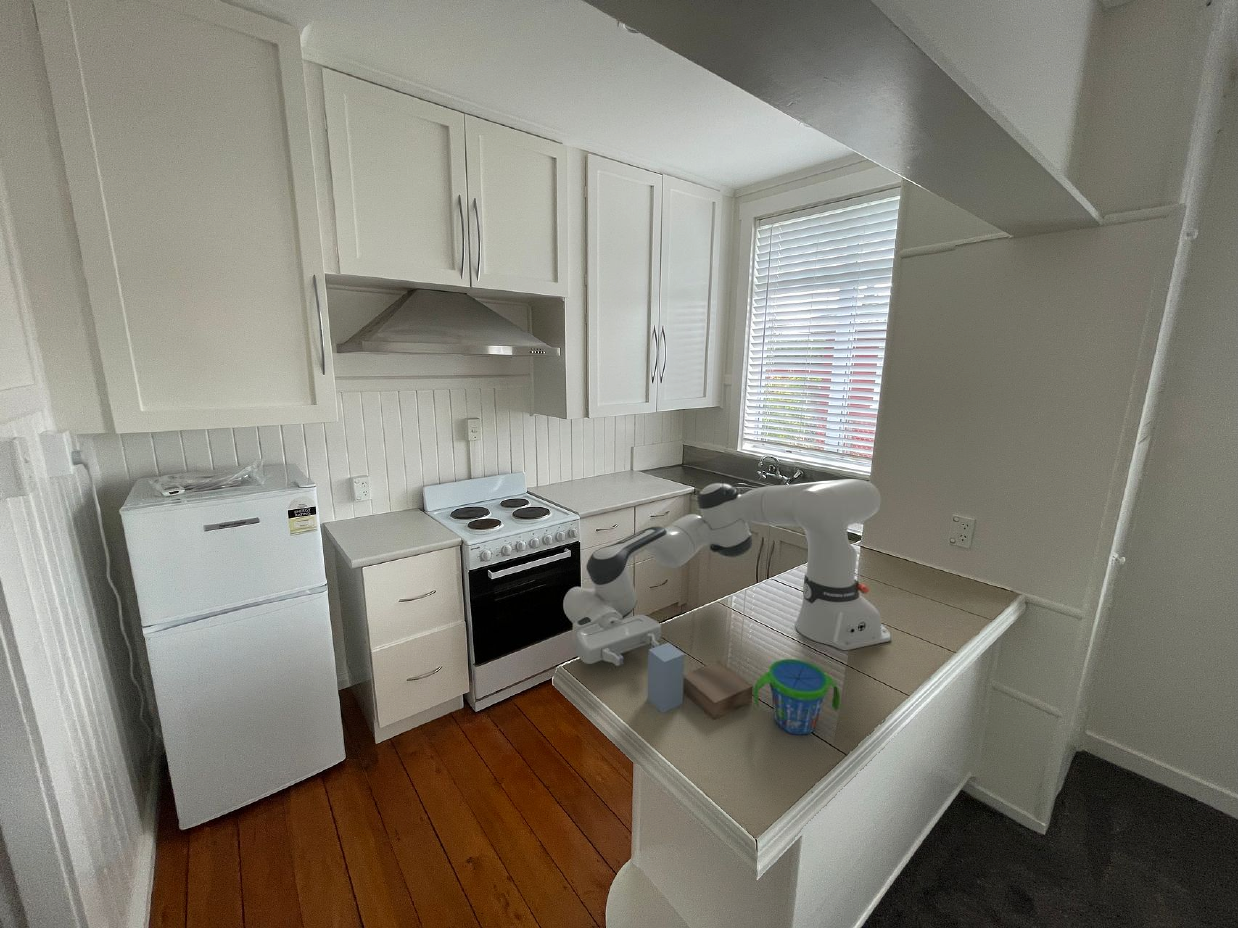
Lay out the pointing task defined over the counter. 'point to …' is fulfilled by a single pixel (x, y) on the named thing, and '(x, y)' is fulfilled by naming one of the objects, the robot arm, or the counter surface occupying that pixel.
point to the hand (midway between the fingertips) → (639, 654)
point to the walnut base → (717, 689)
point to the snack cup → (797, 694)
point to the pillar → (665, 677)
